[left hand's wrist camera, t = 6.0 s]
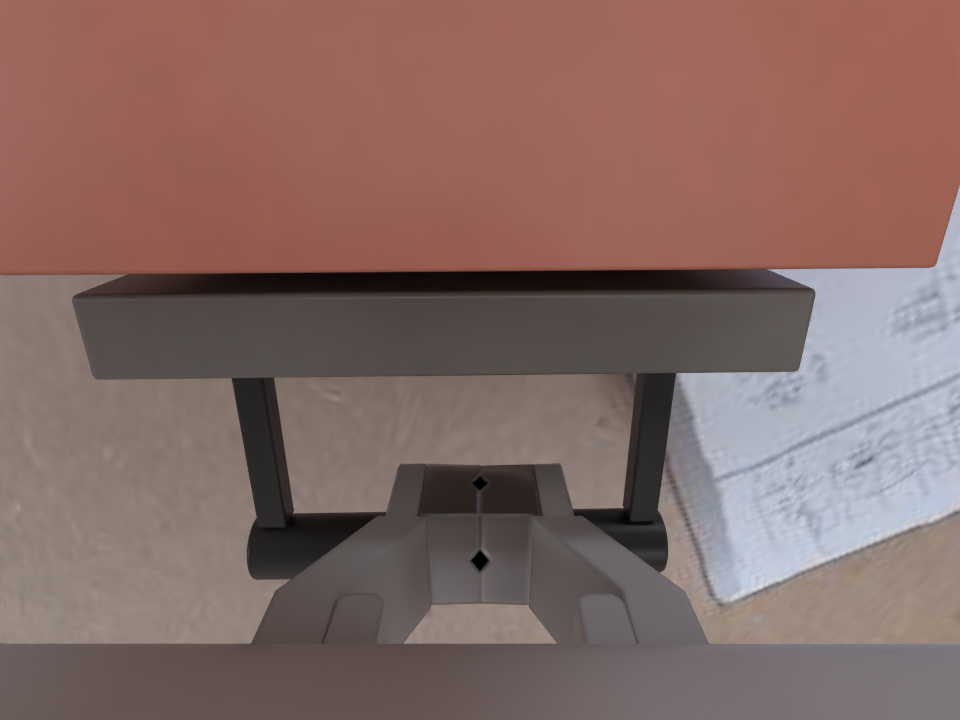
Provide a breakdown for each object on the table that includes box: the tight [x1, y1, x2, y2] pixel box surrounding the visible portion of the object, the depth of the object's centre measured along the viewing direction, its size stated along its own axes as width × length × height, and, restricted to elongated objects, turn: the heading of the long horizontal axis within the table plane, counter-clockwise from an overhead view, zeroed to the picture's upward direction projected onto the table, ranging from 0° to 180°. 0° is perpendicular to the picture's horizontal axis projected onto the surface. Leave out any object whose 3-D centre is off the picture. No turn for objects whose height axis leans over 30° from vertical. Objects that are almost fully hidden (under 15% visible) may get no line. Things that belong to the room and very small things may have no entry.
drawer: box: [72, 269, 815, 580], centre depth 10 cm, size 22×10×9 cm, turn 0°
